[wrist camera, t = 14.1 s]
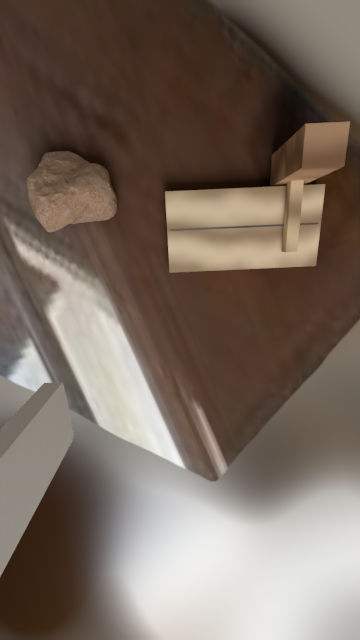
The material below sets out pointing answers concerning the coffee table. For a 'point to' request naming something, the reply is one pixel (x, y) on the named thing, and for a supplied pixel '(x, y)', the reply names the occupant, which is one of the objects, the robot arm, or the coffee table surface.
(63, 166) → the stone
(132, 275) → the coffee table surface
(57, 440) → the robot arm
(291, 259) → the board
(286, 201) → the block
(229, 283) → the coffee table surface
